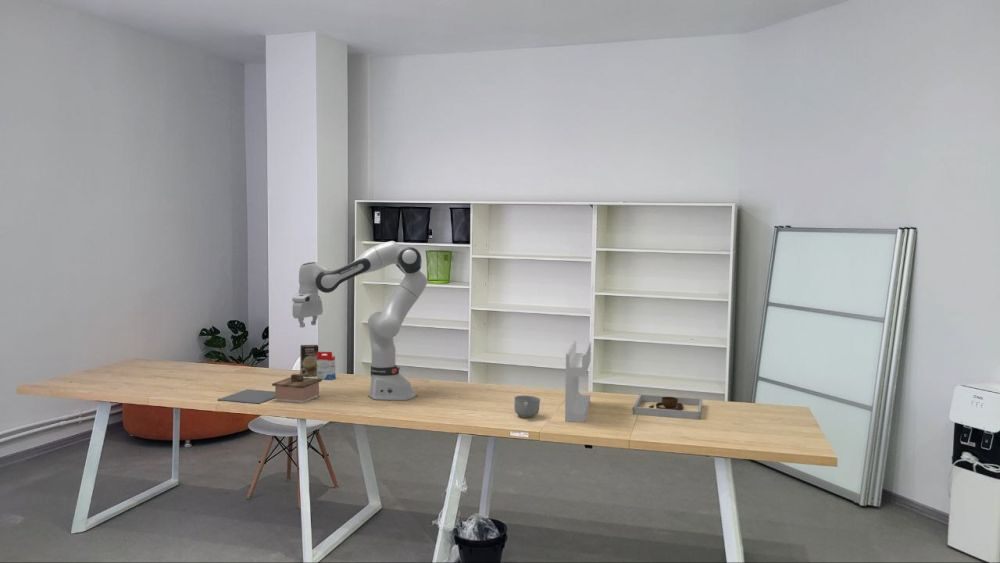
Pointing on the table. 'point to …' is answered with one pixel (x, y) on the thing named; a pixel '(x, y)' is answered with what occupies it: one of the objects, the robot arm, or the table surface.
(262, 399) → the rubber mat
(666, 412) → the grey tray frame
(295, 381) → the walnut lid
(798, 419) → the table surface
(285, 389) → the salmon open box
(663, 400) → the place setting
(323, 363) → the ink box
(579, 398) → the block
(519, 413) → the teacup
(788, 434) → the table surface
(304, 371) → the coffee box
